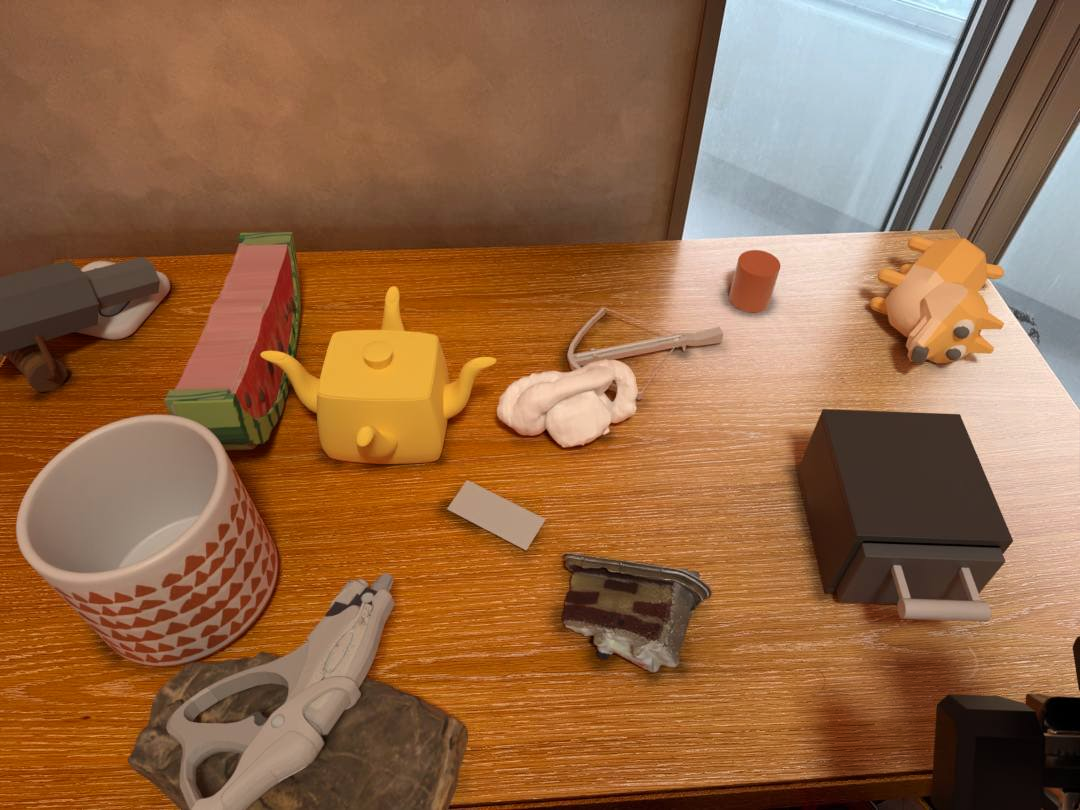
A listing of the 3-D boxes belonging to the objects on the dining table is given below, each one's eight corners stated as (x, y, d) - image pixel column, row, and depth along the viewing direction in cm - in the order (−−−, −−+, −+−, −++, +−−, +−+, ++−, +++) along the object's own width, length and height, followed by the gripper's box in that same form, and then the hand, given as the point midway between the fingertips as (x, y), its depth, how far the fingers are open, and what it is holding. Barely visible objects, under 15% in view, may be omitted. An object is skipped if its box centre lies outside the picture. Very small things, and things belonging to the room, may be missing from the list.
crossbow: (585, 415, 79) (585, 401, 78) (553, 328, 88) (553, 313, 86) (743, 383, 81) (746, 368, 80) (697, 300, 90) (699, 285, 88)
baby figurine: (479, 384, 75) (513, 468, 73) (593, 319, 72) (632, 405, 69) (520, 399, 83) (552, 476, 80) (625, 341, 79) (661, 419, 77)
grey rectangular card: (446, 509, 71) (448, 512, 71) (526, 550, 68) (527, 554, 69) (466, 479, 72) (468, 483, 73) (545, 519, 69) (546, 522, 70)
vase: (193, 489, 71) (130, 388, 62) (315, 554, 66) (268, 455, 57) (62, 618, 64) (-32, 525, 54) (190, 703, 59) (111, 616, 49)
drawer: (986, 656, 62) (1027, 613, 57) (850, 651, 62) (879, 607, 57) (926, 489, 73) (957, 440, 68) (810, 485, 73) (832, 435, 68)
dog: (846, 294, 81) (983, 344, 74) (929, 207, 91) (1055, 244, 85) (831, 356, 86) (957, 408, 80) (911, 267, 97) (1028, 306, 90)
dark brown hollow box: (966, 599, 67) (1014, 541, 60) (824, 594, 67) (857, 535, 60) (922, 475, 75) (960, 413, 69) (796, 471, 75) (822, 408, 69)
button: (174, 272, 89) (120, 333, 82) (179, 284, 90) (126, 345, 83) (90, 255, 90) (30, 314, 83) (95, 267, 91) (37, 327, 85)
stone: (251, 612, 64) (235, 579, 60) (491, 751, 57) (489, 723, 54) (117, 768, 56) (89, 741, 52) (377, 949, 50) (366, 933, 46)
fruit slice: (265, 492, 69) (238, 400, 63) (188, 494, 69) (153, 402, 62) (313, 314, 89) (296, 230, 83) (254, 315, 89) (233, 231, 82)
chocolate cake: (525, 636, 64) (635, 649, 54) (553, 550, 67) (662, 548, 57) (611, 677, 68) (726, 696, 59) (634, 595, 71) (747, 601, 62)
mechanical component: (119, 227, 85) (127, 309, 91) (-75, 270, 73) (-52, 361, 79) (176, 273, 81) (180, 355, 87) (-19, 327, 69) (1, 418, 75)
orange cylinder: (777, 300, 91) (789, 264, 87) (752, 318, 89) (763, 281, 85) (745, 281, 93) (755, 244, 89) (720, 297, 91) (729, 261, 87)
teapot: (499, 427, 77) (498, 352, 70) (377, 515, 70) (362, 441, 63) (399, 348, 84) (389, 272, 77) (279, 421, 77) (255, 345, 70)
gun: (322, 562, 63) (432, 604, 59) (131, 791, 51) (252, 865, 47) (310, 536, 61) (423, 578, 57) (109, 768, 49) (233, 843, 45)
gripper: (1504, 669, 34) (1197, 573, 49) (1042, 652, 34) (882, 561, 49) (1479, 937, 34) (1184, 758, 50) (1024, 920, 34) (872, 746, 50)
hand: (1031, 701), depth 49 cm, fingers closed
